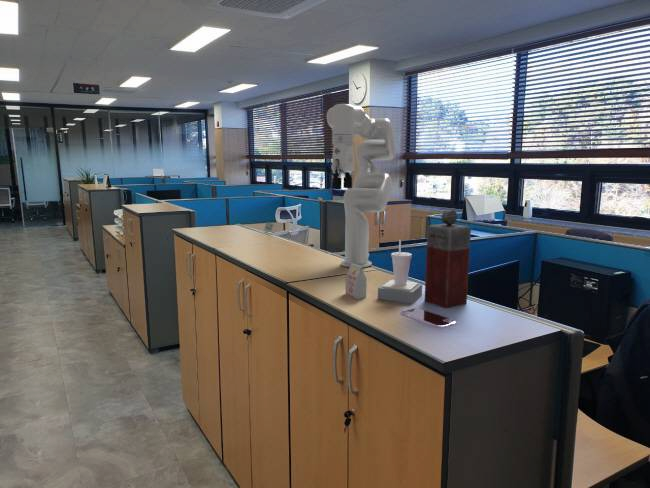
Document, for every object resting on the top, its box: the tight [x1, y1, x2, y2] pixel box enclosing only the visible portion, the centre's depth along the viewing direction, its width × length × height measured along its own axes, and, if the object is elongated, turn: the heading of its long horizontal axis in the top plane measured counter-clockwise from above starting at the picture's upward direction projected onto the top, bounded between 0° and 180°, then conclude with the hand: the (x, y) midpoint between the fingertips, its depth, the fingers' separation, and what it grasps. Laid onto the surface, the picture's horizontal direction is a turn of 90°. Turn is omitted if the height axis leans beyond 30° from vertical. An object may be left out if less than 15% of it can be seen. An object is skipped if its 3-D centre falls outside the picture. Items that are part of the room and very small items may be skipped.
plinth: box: [377, 279, 423, 305], centre depth 149 cm, size 11×11×4 cm
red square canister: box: [424, 209, 472, 309], centre depth 142 cm, size 9×11×28 cm
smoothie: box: [390, 239, 413, 286], centre depth 147 cm, size 6×6×14 cm
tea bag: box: [345, 263, 367, 300], centre depth 149 cm, size 4×7×10 cm, turn 25°
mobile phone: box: [399, 307, 459, 329], centre depth 128 cm, size 8×1×15 cm
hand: (342, 188), depth 171 cm, fingers open, 9 cm apart
